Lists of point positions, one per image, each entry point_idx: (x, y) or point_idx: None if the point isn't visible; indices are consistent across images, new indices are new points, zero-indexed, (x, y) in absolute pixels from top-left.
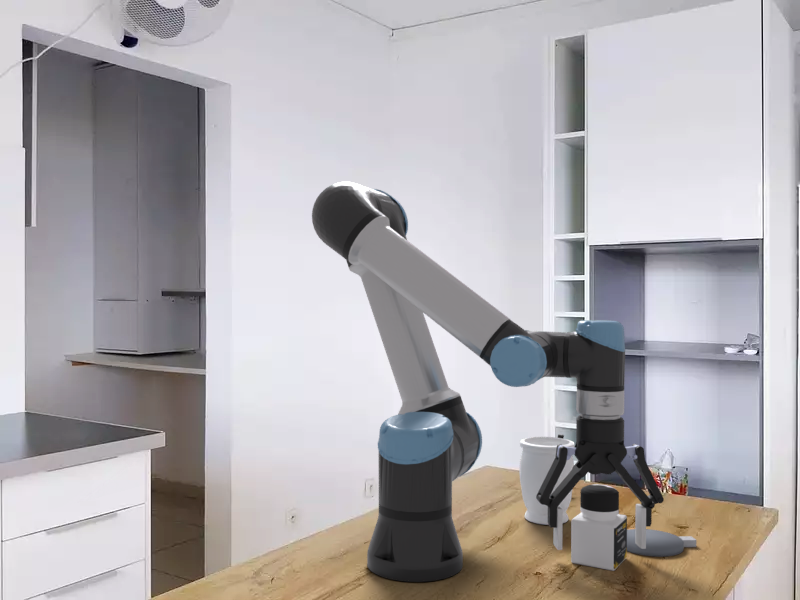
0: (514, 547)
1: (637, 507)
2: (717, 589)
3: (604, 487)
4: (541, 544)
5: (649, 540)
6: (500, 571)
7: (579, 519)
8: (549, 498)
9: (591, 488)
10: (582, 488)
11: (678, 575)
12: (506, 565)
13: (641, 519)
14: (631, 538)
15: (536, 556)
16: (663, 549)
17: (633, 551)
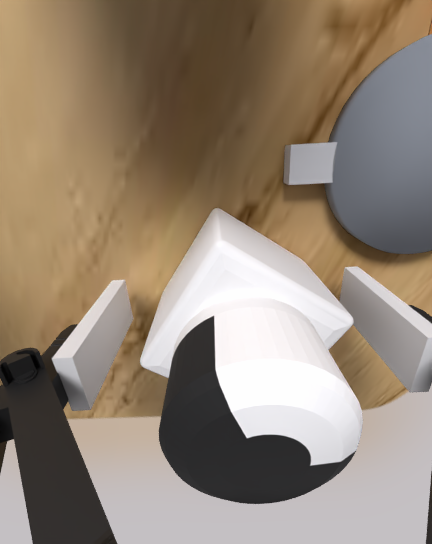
0: (14, 180)
1: (415, 350)
2: (392, 398)
3: (288, 472)
4: (94, 148)
5: (423, 177)
6: (9, 339)
7: (165, 373)
8: (9, 438)
9: (210, 479)
10: (168, 439)
11: (364, 348)
12: (15, 309)
13: (383, 360)
14: (378, 157)
15: (81, 251)
16: (414, 252)
17: (341, 224)
